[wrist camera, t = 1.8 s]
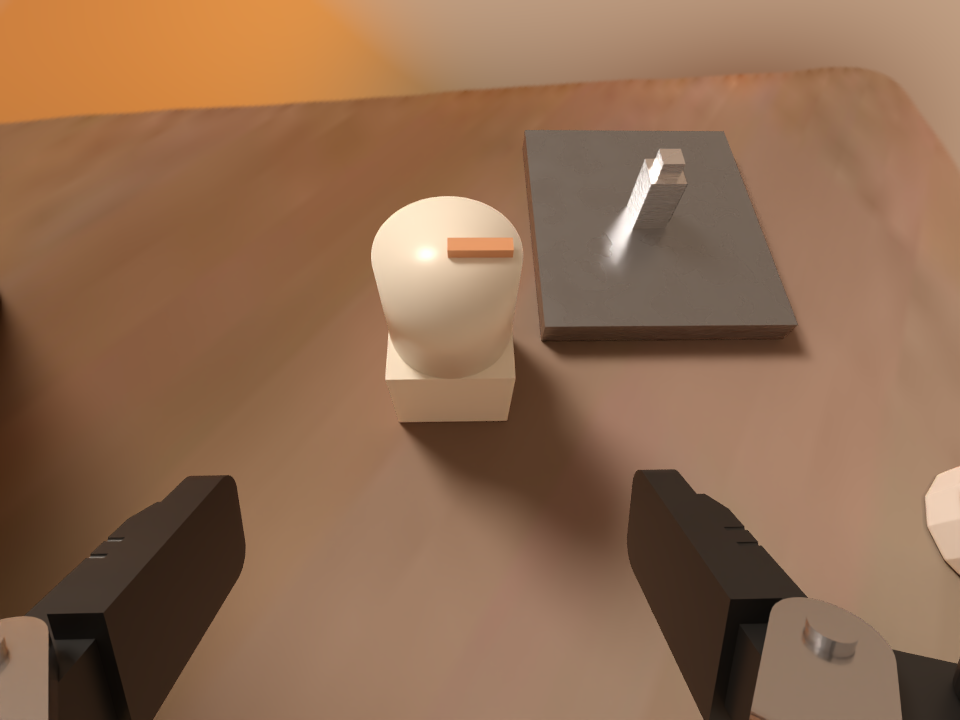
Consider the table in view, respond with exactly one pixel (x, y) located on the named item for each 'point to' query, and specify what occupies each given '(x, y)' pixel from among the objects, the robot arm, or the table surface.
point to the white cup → (945, 515)
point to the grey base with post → (647, 239)
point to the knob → (449, 309)
